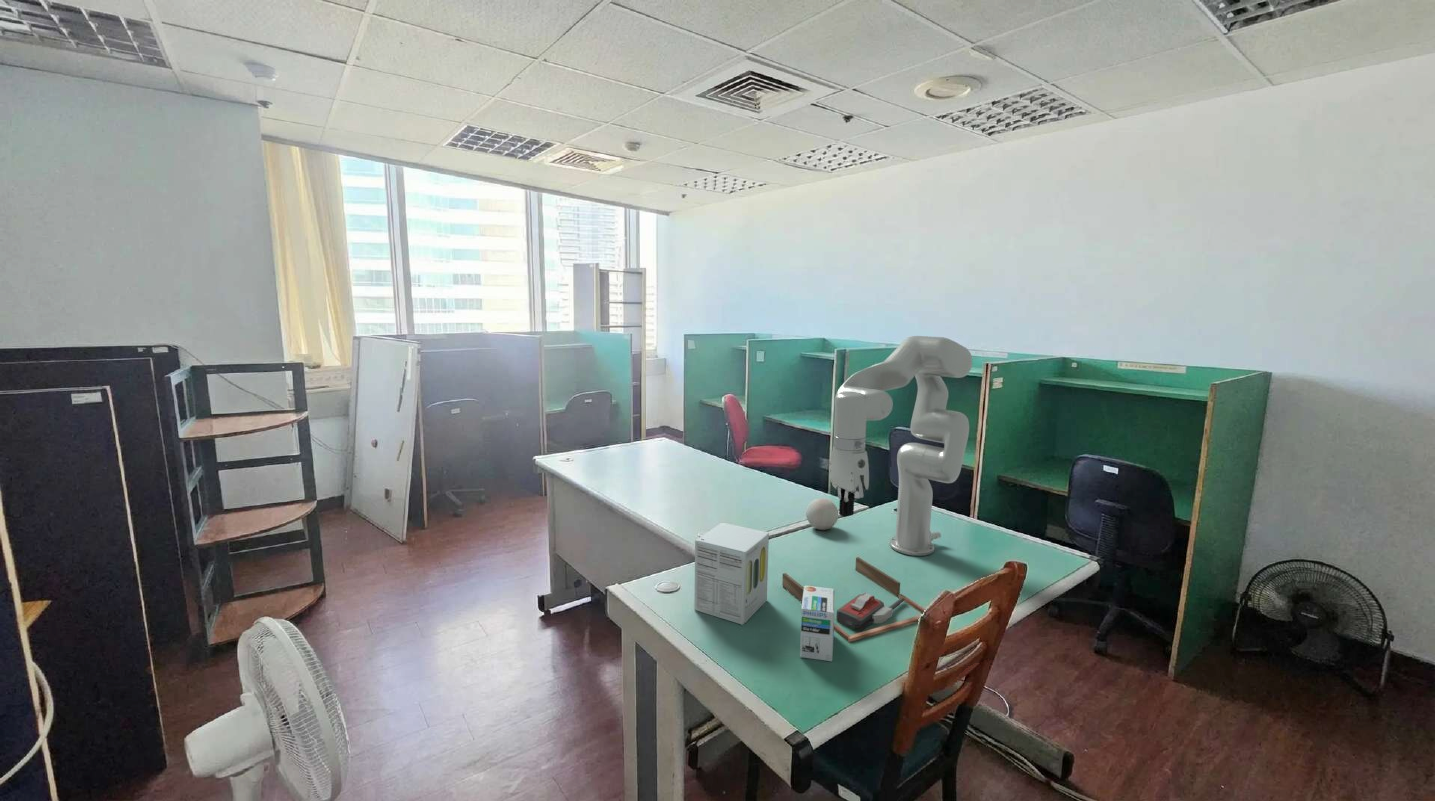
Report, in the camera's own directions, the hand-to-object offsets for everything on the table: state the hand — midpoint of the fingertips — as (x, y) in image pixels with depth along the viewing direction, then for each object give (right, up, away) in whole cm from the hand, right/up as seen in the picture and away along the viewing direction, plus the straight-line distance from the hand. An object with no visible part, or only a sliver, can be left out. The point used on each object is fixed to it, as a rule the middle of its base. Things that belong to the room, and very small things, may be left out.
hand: (846, 514), depth 144 cm
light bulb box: (-11, -24, -21) cm, 34 cm away
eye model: (+1, -13, +42) cm, 44 cm away
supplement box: (-29, -21, -6) cm, 36 cm away
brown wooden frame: (+1, -20, -4) cm, 21 cm away
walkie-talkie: (+4, -22, -8) cm, 24 cm away
